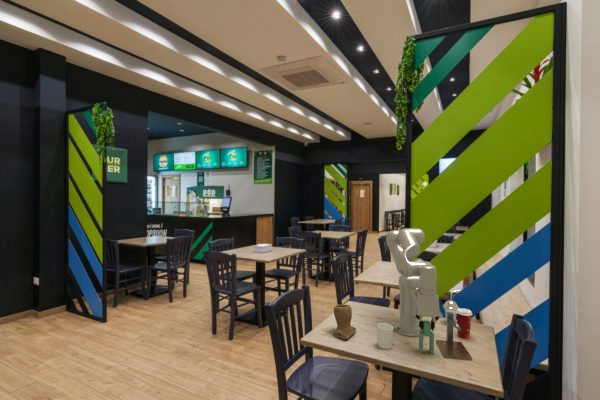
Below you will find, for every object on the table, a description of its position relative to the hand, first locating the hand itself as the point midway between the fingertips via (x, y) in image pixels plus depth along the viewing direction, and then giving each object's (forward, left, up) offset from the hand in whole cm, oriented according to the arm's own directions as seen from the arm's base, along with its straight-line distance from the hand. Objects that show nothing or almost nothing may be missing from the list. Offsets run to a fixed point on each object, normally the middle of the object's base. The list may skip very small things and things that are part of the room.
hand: (426, 328), depth 154 cm
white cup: (-19, +2, -11) cm, 22 cm away
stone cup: (-40, +12, -11) cm, 43 cm away
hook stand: (+13, +4, -11) cm, 18 cm away
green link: (0, 0, -11) cm, 11 cm away
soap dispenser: (+21, +38, -11) cm, 45 cm away
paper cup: (+23, +22, -11) cm, 34 cm away
